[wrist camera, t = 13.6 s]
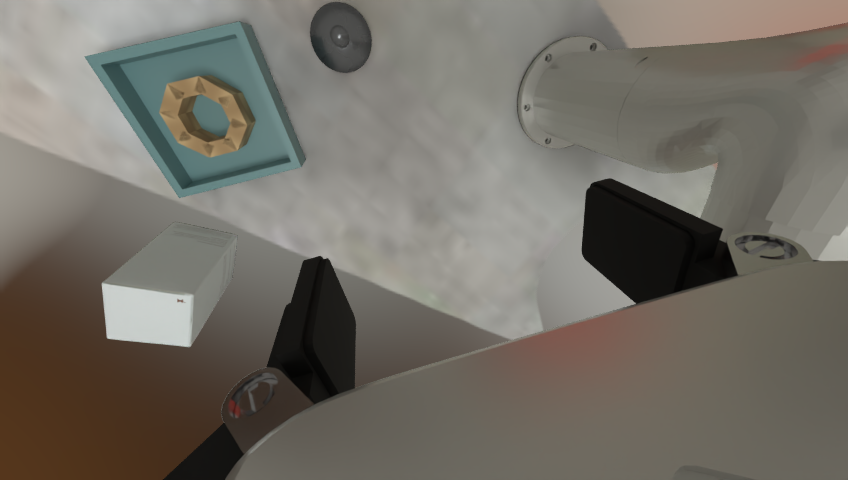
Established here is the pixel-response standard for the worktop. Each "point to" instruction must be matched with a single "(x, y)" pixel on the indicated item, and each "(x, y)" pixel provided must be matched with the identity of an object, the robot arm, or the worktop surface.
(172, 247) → the supplement box
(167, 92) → the ring
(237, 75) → the tray
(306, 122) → the worktop surface
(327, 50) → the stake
